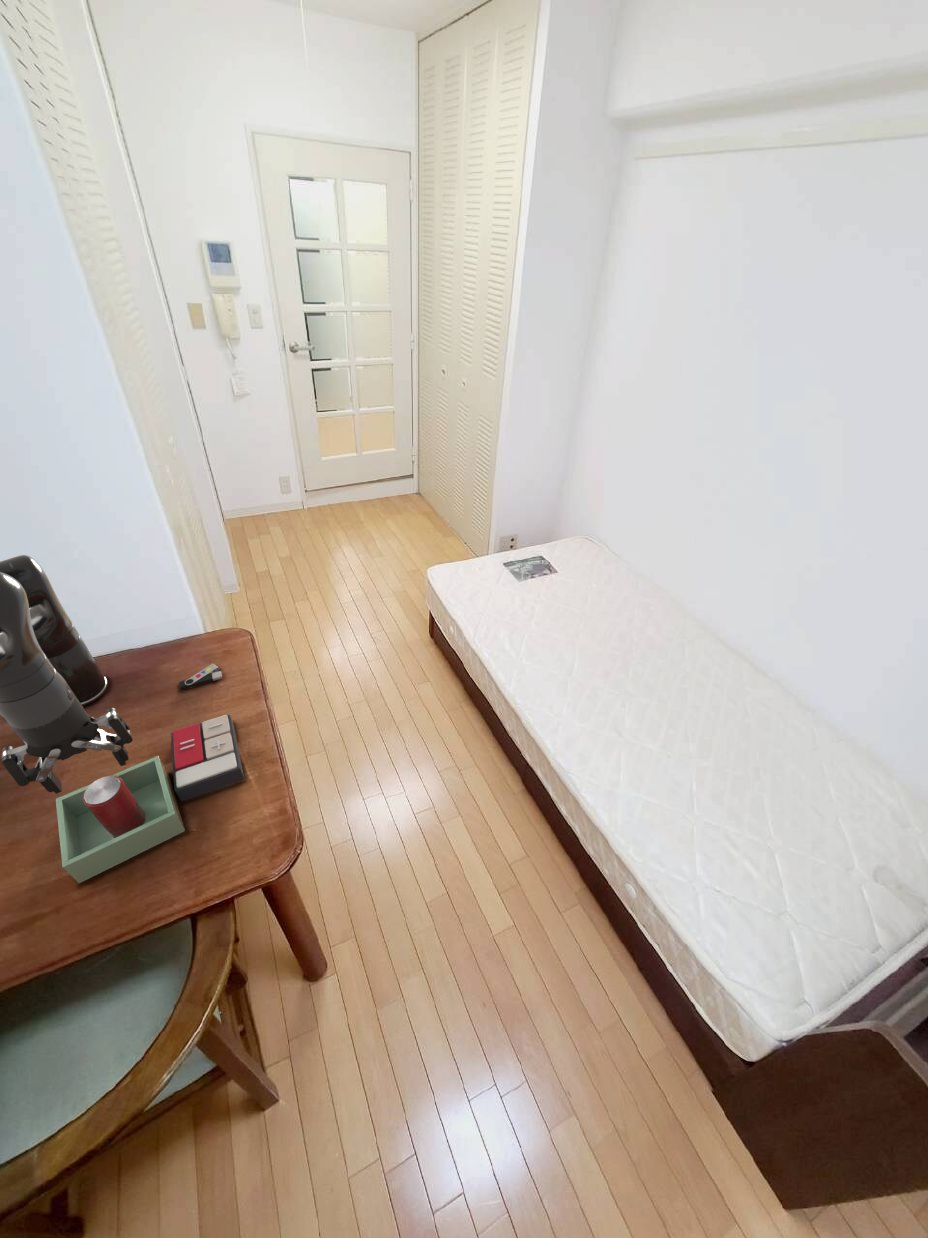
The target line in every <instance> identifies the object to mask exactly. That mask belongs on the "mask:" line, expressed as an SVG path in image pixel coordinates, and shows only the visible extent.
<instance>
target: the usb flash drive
mask: <svg viewBox="0 0 928 1238" xmlns="http://www.w3.org/2000/svg"><path fill="white" fill-rule="evenodd" d="M222 679H223V673H222V670H220V667H218V666H217V665H216V664H214V663H210V665H207V666H206V667H205V668H203V669H202V670H200V671H198V672H197V673H195V674H193V675H192V676H191V677H189V678H187V679H184V680H181V681H179V683H178V684H179V685H178V686H179V689H180V690H181V691H183V690H186V689H187V690H188V689H192V688H194V687H198V686H202V685H205V684H209V683H213V682H214V681H216V680H222Z"/></svg>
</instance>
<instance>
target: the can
mask: <svg viewBox="0 0 928 1238" xmlns="http://www.w3.org/2000/svg"><path fill="white" fill-rule="evenodd" d="M90 784H91V785H90ZM90 784H88V785H89V786H88V785H87V786H88V788H87V789H86V790H85V792H84V794H83V802H84V804H85V805H86V806H87V807H88V808H89V810H90V811H91V812H92V813H93V815H94V816H95V817H96V818H97V820H98V821H99V822H100V823H101V824H102V826H103V827H104V828H105V829H106V831H107V832H108V833H109V834H110V836H111V837H113V838H116V837H119V836H121V835H123V834H125V833H127V832H129V831H131V830H133V829H135V828H137V827H140V826H142V825H143V824H144V822H145V813H144V811H143V810H142V808H141V807H140V805H139V804H138V802H137V801H136V800H135V798H134V797H133V795H132V794H131V792H130V791H129V789H128V788H127V786H126V785H125V783H124V782H123V781H122V779H121V778H120V777H118V776H111V775H106V776H102V777H99V778H98V779H96V780H94V781H93V782H92V783H90Z"/></svg>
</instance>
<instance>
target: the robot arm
mask: <svg viewBox="0 0 928 1238" xmlns="http://www.w3.org/2000/svg"><path fill="white" fill-rule="evenodd" d="M108 688H109V681H108V680H107V678H106V676H104V674H103V672H102V671H101V669H100V667H99V666H98V664H97V662H96V660H95V658H94V656H93V655H92V653H91V651H90V650H89V648H88V646H87V645H86V643H85V642H84V640H83V639H82V637H81V635H80V633H79V632H78V630H77V629H76V627H75V624H74V623H73V621H72V620H71V618H70V616H69V614H68V613H67V612H66V610H65V608H64V606H63V605H62V603H61V601H60V600H59V597H58V595H57V594H56V592H55V590H54V588H53V586H52V583H51V581H50V579H49V578H48V575H47V574H46V572H45V570H44V569H43V567H42V566H41V565H40V563H39V562H38V561H37V560H36V559H35V558H33V557H32V556H30V555H27V554H20V555H17V556H14V557H9V558H7V559H3V560H1V561H0V717H1V718H2V720H3V721H4V722H6V723H7V724H8V726H9V727H10V728H11V729H12V730H13V731H14V733H15V734H16V735H17V736H18V737H19V738H20V740H21V741H22V742H23V743H24V745H20V746H18V747H13V746H12V745H7V746H5V747H2V749H1V764H2V765H3V766H4V768H5V769H6V770H7V772H8V773H9V775H10V776H11V777H12V779H13V780H14V781H15V783H16V784H17V785H18V786H20V787H25V786H27V785H28V784H30V783H32V782H37V783H40V785H41V786H42V787H43V788H44V789H45V790H46V791H47V792H48V793H54V794H56V795H58V794H60V793H62V792H63V786H62V784H63V783H62V781H61V780H60V779H59V777H58V776H57V775H56V774H55V773H54V771H53V769H54V767H55V764H56V763H57V761H65V760H68V759H69V758H71V757H73V756H76V755H79V754H82V753H85V752H87V751H88V750H93V751H97V752H102V751H107V752H111V754H112V756H113V757H114V758H115V760H116V761H117V763H118V764H119V766H120V767H124V766H126V765H127V761H129V753H128V750H127V749H126V747H125V745H128V744H131V743H132V742H133V740H134V738H133V735H132V730H131V728H130V726H129V725H128V724H127V722H126V721H125V720H124V719H123V717H122V716H121V714H120V713H119V712H118V710H117V708H115V707H109V708H107V709H106V711H105V712H106V713H105V714H103V715H100V716H98V717H93V716H91V715H89V714H88V713H87V711H86V709H85V708H84V707H85V706H89V705H90V704H93V703H94V702H96V701H97V700H99V699H100V698H101V697H103V696H104V694H106V692H107V690H108ZM99 727H105V728H106V729H108V730H113V731H114V732H115V733H116V734H114V733H109V732H106V731H105V730H103V729H100V728H99ZM26 755H29V756H33V757H36V758H37V757H38V760H37V762H36V764H35V766H34V767H31V768H29V767H28V766H27V764H26V763H25V762H24V761H25V756H26Z"/></svg>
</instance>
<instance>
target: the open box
mask: <svg viewBox="0 0 928 1238" xmlns="http://www.w3.org/2000/svg"><path fill="white" fill-rule="evenodd" d="M110 776H118V777H120V778H121V779H122V781H123V782H124V783H125V785H126V786H127V788H128V789H129V791H130V792H131V794H132V795H133V797H134V798H135V800H136V801H137V802H138V804H139V805H140V807H141V808H142V810H143V811H144V813H145V822H144V824H143V825H142V826H140V827H137V828H135V829H133V830H131V831H129V832H127V833H125V834H123V835H121V836H119V837H116V838H113V837H111V836H110V834H109V833H108V832H107V831H106V829H105V828H104V827H103V826H102V824H101V823H100V822H99V821H98V820H97V818H96V817H95V816H94V815H93V813H92V812H91V811H90V810H89V808H88V807H87V806H86V805H85V804H84V802H83V794H84V792H85V790H86V789H87V788H88V786H89V785H91V784H92V783H90V784H88V785H86V786H82V787H81V788H78V789H76V790H73V791H72V792H69V793H65V794H64V795H61V796H60V797H56V798H55V805H56V816H57V824H58V825H57V826H58V835H59V845H60V855H61V867H62V869H64V870H65V872H67V874H68V875H69V876H71V877H72V878H73V880H75V882H77V884H81V883H84V882H85V881H87V880H89V879H91V878H93V877H95V876H97V875H99V874H101V873H103V872H105V871H107V870H109V869H112V868H113V867H116V866H118V865H119V864H121V863H123V862H125V861H127V860H129V859H131V858H133V857H135V856H137V855H139V854H141V853H143V852H145V851H147V850H149V849H151V848H154V847H156V846H158V845H159V844H161V843H163V842H165V841H168V840H170V839H171V838H173V837H176V836H177V835H180V834H182V833H185V831H186V829H185V825H184V822H183V819H182V816H181V813H180V808H179V806H178V802H177V799H176V795H175V790H174V787H173V783H172V781H171V777H170V774H169V772H168V770H167V768H166V767H165V765H164V763H163V761H162V760H161V758H160V756H159V755H156V756H153V757H152V758H149V759H147V760H144V761H142V762H139V763H138V764H135V765H132V766H131V767H128V768H125V769H124V770H121V771H118V772H116V773H114V774H111V775H110Z"/></svg>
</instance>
